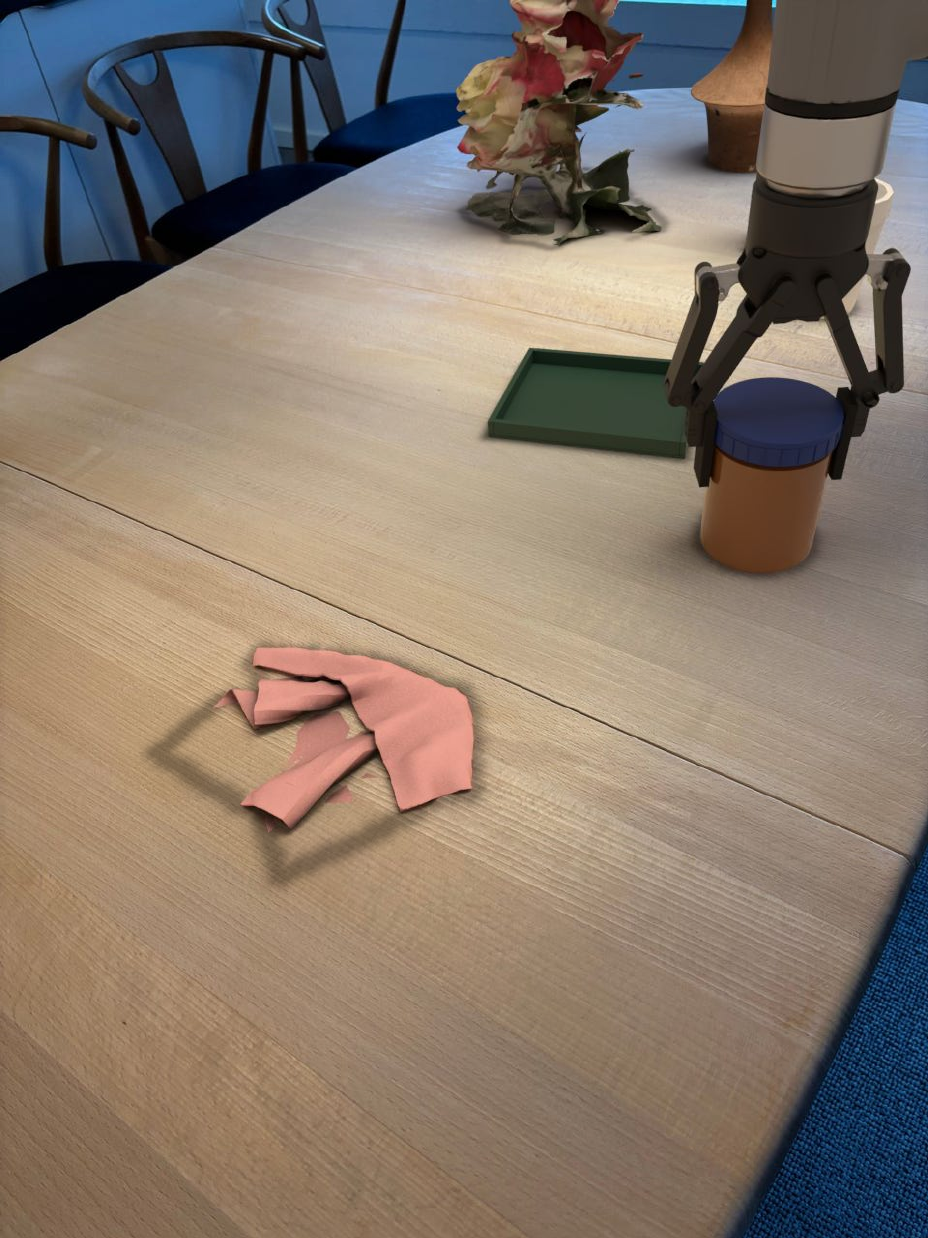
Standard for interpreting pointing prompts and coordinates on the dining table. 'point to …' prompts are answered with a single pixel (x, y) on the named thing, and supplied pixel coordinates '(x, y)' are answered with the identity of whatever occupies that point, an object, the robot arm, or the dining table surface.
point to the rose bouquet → (549, 117)
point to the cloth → (387, 705)
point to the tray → (591, 403)
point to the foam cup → (872, 234)
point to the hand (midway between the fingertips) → (766, 473)
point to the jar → (761, 512)
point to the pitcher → (738, 93)
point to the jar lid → (777, 421)
